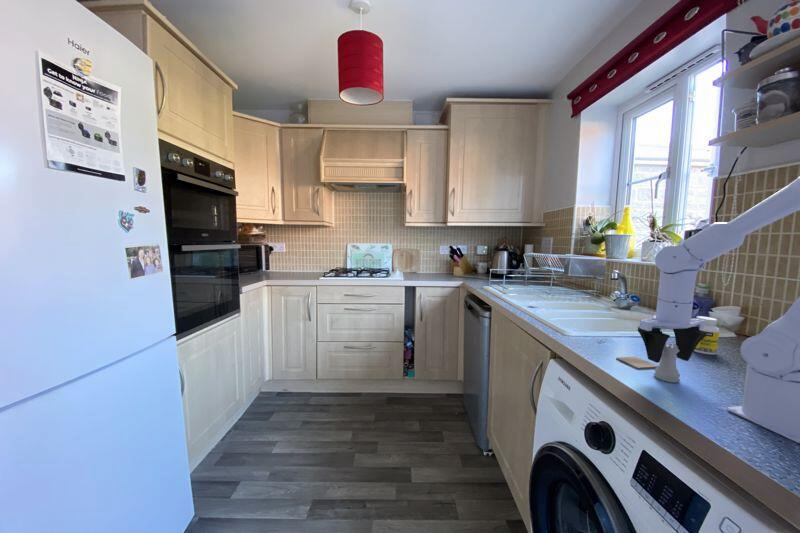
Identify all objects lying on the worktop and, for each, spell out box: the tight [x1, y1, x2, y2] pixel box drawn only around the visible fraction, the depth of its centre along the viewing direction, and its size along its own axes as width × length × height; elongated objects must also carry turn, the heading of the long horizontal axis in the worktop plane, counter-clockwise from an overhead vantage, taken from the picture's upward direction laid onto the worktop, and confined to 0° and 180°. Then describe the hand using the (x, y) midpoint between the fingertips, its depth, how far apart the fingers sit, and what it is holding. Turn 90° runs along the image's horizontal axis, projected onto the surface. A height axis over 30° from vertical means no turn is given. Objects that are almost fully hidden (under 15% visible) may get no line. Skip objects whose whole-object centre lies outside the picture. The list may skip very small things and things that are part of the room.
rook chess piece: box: [653, 342, 681, 384], centre depth 66 cm, size 4×4×8 cm
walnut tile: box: [615, 356, 658, 370], centre depth 74 cm, size 6×6×1 cm
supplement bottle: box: [693, 315, 720, 356], centre depth 82 cm, size 5×5×10 cm
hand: (668, 359), depth 66 cm, fingers open, 7 cm apart
